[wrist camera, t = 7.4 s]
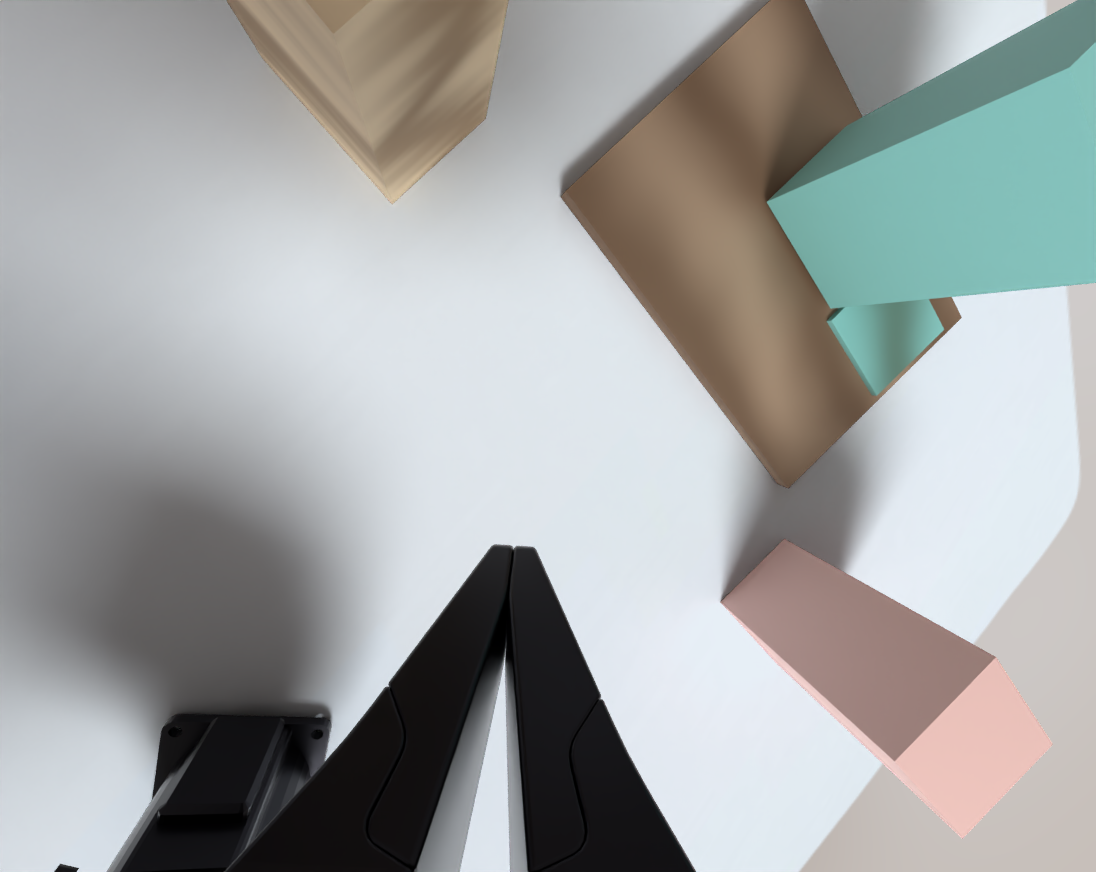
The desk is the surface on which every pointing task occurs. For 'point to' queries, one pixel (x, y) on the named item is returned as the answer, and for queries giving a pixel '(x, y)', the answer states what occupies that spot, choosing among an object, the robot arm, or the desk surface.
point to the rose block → (894, 682)
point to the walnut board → (750, 243)
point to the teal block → (961, 179)
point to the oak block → (384, 73)
